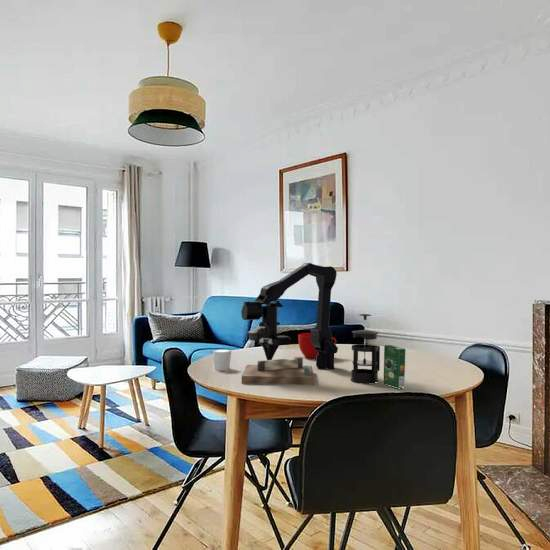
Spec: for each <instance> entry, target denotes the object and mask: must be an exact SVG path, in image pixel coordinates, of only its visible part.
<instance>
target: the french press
mask: <svg viewBox="0 0 550 550" xmlns="http://www.w3.org/2000/svg"><path fill="white" fill-rule="evenodd" d="M359 316H361V317H363V320H364V329H359V330H352V331H351V333H352V337H353V338H358V337H359V338H363V339H364V343H362V344H360V343H359V344H358V343H357V344H352V345H351V350H352V352H353V355H352V357H353V360H352V361H351V362H352V369H351V370H350V372H351V373H350V375H351V376H350V377H351V378H350V381H351V382H352V383H355V384H360V383H361V384H362V383H363V384H362V385H370V384H369V383H374V384H376V383H375V382H378V383H379V379H378V378H379V377H378V375H379V372H380V368H381V367H380V363H381V358H380V357H381V355H380V354H381V352H380V351H381V350H380V349H381V345H375V344H366V341H367V340H369V341H370V340H377V339H378V334H379V332H378V331H374V330H371V329H370V330H368V329H366V325H367V324H366V322H367V318H368V317H371V316H372V314H367V313H361V314H360V313H359ZM359 353H363V359H359ZM366 353H371V360H367V359H366ZM359 366H360V367H371V368H359Z"/></svg>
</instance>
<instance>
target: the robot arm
mask: <svg viewBox="0 0 550 550" xmlns="http://www.w3.org/2000/svg"><path fill="white" fill-rule="evenodd" d="M308 275H309V276H312V277H314V278H315V282H316V285H317V288H318V296H317V297H318V298H317V301H318V303H317V310H316V313H317V316H316V326H315V327H314V329H313V328H312V329H310V333H311V337H310V339H311V343H312V344H313V346H314V347H315V350H316V351H318V355H316V358H315V367H316V368H317V369H318V370H335V354H337V353H338V350H339V348H338V346H337V344H336V345H335V344H334V343H335V342H333V339H332V338H333V334H332V331H331V329H330V315H331V298H332V289H333V287H334V285H335V284H336V281H337V275H338V274H337V270H336V268H334V267H333V266H331V265H330V266H322V265H317V264H314V263H311V262H303V263H302V264H301V265H300V266H299V267H298V268H296V269H294V270H293V271H291V272H289V273H288V274H286V276H284V277H282V278H280V279H279V280H277V281H274V282H270V283H269V284H266V285H263V286H262V287H261V289H260V293H259V295H258V296H257V297H256V298H255V301H247V300H246V301H243V305H242V306H241V311H240V312H241V319H242V320H244V321H258V320H260V319H261V321H259V322H258V326H257V327H254V328H251V330H249V331H247V333H248V340H249V341H254V342H257V344H259V345H260V346H261V347H262V349H263V351H264V354H265V358H266V360H273V358H274V356H275V354H276V353H277V350H278V349H279V347H280V346H286V345H291V344H292V338H291V337H290V336H288V335H280V334H281V333H280V332H278V326H280V325H281V324H280V323H281V322H279V321H278V308H283V306H284V305H283V304H282V303H281V302H280V300H279V299H280V298H281V297H282V296H283V295H284V294H285V292H286V291H287V290H288V289H289V288H291V287H292V286H294V285H295V284H297V283H299V282H300V281H301V280H303V279H304V278H306V277H307V276H308Z"/></svg>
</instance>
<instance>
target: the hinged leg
mask: <svg viewBox="0 0 550 550" xmlns="http://www.w3.org/2000/svg"><path fill="white" fill-rule="evenodd" d="M303 360H304V358H303V357H301V356H296V357H292V358H281V359H280V358H279V359H272V360H267V359H266V360H258V361H257V365H258V371H266V370H276V369H287V368H300V367H303V366H304V364H303V362H304V361H303Z"/></svg>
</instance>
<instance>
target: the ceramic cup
mask: <svg viewBox="0 0 550 550" xmlns="http://www.w3.org/2000/svg"><path fill="white" fill-rule="evenodd" d="M310 337H311V332H302V333H299V334H298V337H297V339H298V346H299V350H300V352H301V354H302V355H303V356H304V357H305V358H306V359H315V360H316V355H318V351H316V350H315V347H314V346H313V344H312V343H311V339H310ZM332 340H333V341H334V342H333V343H334V344H335V345H336V346H337V339H336V338H335V337H332Z"/></svg>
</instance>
